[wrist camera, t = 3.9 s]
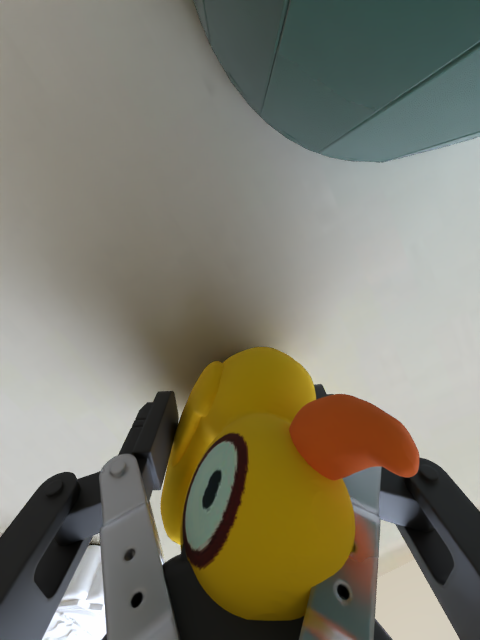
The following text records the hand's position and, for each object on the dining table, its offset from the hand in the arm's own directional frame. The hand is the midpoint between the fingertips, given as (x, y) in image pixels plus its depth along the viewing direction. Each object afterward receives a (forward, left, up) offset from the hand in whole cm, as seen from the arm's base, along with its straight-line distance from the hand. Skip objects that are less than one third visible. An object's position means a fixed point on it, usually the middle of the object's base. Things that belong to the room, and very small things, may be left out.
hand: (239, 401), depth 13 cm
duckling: (0, 0, -2) cm, 2 cm away
